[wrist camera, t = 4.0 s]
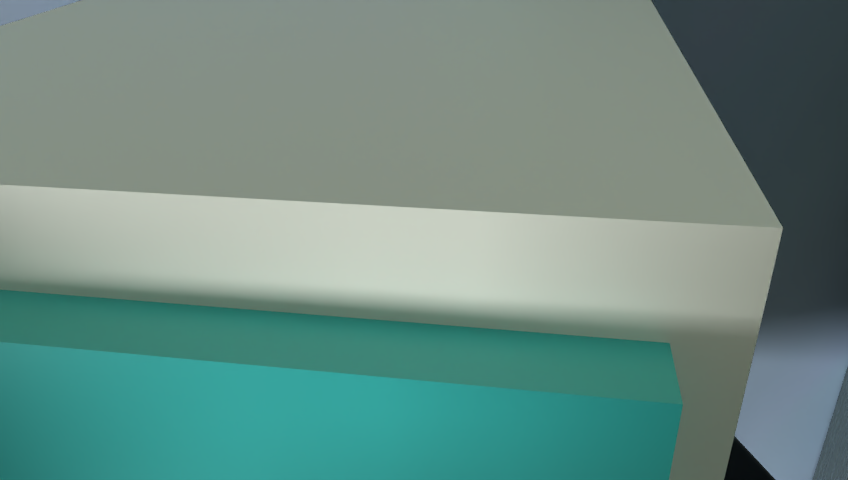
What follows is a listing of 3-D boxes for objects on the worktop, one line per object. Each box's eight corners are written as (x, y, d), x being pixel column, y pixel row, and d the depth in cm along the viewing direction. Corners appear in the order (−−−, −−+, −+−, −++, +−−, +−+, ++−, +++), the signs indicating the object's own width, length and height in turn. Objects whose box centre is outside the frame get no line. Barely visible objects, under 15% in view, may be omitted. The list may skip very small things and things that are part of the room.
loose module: (633, -31, 8) (812, 280, 2) (574, 515, 11) (584, 1141, 6) (184, -33, 8) (-529, 192, 3) (265, 479, 12) (19, 1003, 7)
